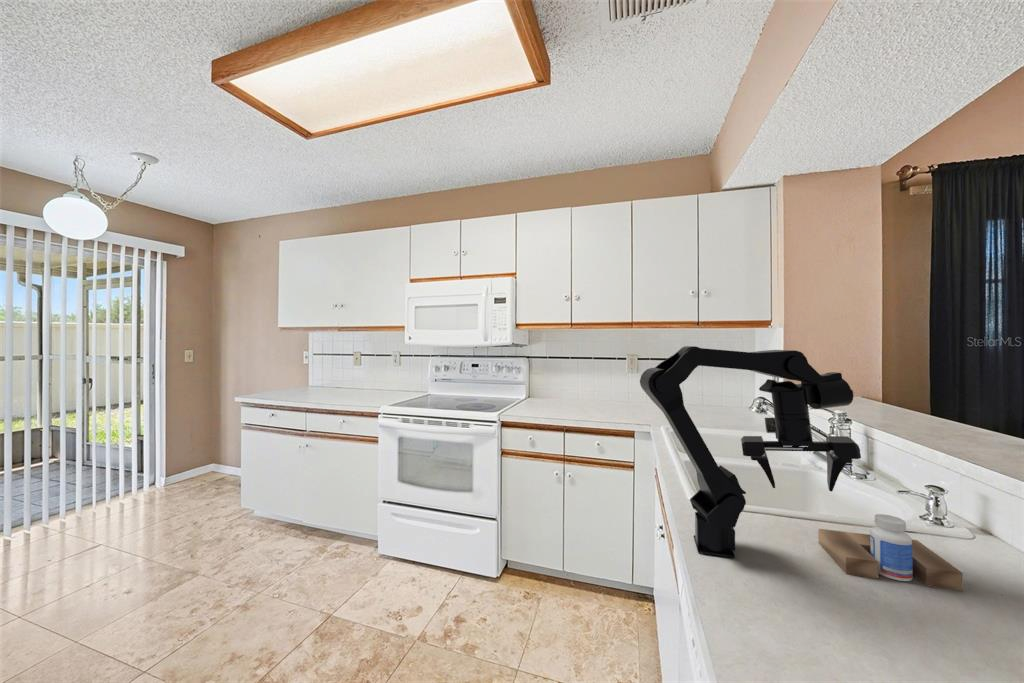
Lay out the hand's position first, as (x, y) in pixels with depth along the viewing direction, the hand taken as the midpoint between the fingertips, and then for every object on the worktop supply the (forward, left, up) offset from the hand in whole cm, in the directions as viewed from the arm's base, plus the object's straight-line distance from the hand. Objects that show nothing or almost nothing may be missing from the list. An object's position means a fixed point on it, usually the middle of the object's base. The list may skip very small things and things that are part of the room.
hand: (801, 488), depth 77 cm
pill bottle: (+12, -4, -12) cm, 18 cm away
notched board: (+12, -2, -12) cm, 17 cm away
